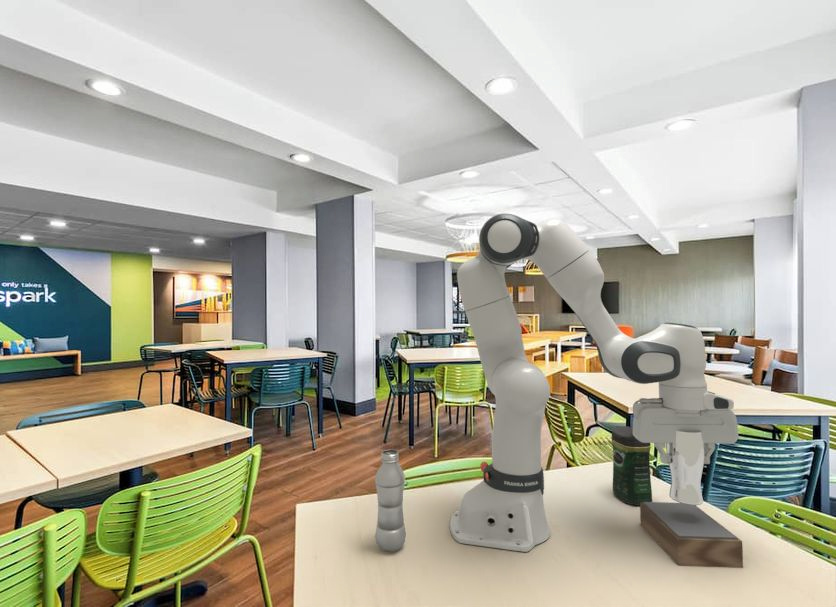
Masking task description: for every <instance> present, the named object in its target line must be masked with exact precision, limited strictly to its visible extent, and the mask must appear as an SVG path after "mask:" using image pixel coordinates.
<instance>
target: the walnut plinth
mask: <svg viewBox="0 0 836 607" xmlns="http://www.w3.org/2000/svg"><path fill="white" fill-rule="evenodd" d="M639 511H640V512H639V513H640V515H639V516H640V519H639V520H640V526H641V527H642V528H643V529H644V530H645V531H646V532H647V533H648V534H649V535H650V537H651V538H653V540H654V541H655V542H656V543H657V544H658V546H660V548H661V549H663V550H664V552H666V554H667V555H669V557H670V558H671V559H672V561H673V562H674V563H675V564H677V566H689V567H690V566H691V567H692V566H693V567H718V568H720V567H722V568H744V559H743V557H744V556H743V555H744V554H743V552H744V551H743V540H741V539H740V538H738V537H737V535H735V534H733V533H732V532H731V531H730V530H729V529H727V528H726V527H724V526H723V525H722V524H720V523H719V522H718V521H717V520H715V519H714V518H713V517H711V515H709V514H708V513H706V512H705V511H703V510H702V509H701V508H700V507H698V505H688V504H683V503H680V502H668V501H667V502H658V501H657V502H656V501H652V502H643V503H640V505H639Z"/></svg>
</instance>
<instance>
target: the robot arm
mask: <svg viewBox="0 0 836 607" xmlns="http://www.w3.org/2000/svg"><path fill="white" fill-rule="evenodd" d="M479 232H480V233H479V238H478V241H479V242H478V243H479V251H478V253H477V255H475V256H474V257H472V258H469V259H468V260H466V261H465V262H463V263H462V264H460V266H459V267H458V269H457V271H456V272H457V273H456V278H457V279H456V280H457V285H458V287H457V288H458V291H459V296H460V300H461V303H462V307H463V310H464V313H465V315H466V319H467V320H468V324H469V327H470V329H471V333H472V336H473V339H474V342H475V345H476V348H477V352H478V357H479V361H480V364H481V367H482V371H483V374H484V377H485V380H486V383H487V387H488V389H489V391H490V392H491V394H492V395H494V397H495V408H494V410H495V411H494V417H493V418H494V419H493V425H492V429H491V463H490V464H489V463H488V462H487V461H482V462H481V463H480V465H479V466H480V471H481V472H482V473H483V475H482V476H483V480H482V481H480V482H479V483H478V484H476V485H475V486H474V487H472V488H471V489H469V490H467V491H466V492H465V493H464V495H463V497H462V499H461V502H460V505H459V509H457V510H455V511H454V513H452V515H451V517H450V522H449V529H450V533H451V537H452V538H453V539H454V540H455V541H456V542H457V543H460V544H464V545H471V546H477V547H478V546H479V547H486V548H493V549H502V550H507V551H508V550H509V551H515V552H516V551H517V552H523V553H527V552H529V551H531V550H532V549H533V548H534V547H535V546H537V545H539V544H542V543H543V542H545V541H546V540H548V539H549V537H550V536H551V530H550V527H549V523H548V520H547V515H546V511H545V510H546V509H545V504H544V496H543V495H544V490H545V474H544V468H542V428H543V422H544V417H545V411H546V406H547V403H548V401H549V399H550V396H551V387H550V382H549V380H548V378H547V377H546V375H545V373H544V372H543V371H542V370H541V369H540V368H539V367H538V366H537V365H535V364H533V363H532V362H529V360H528V358H527V354H526V351H525V347H524V346H525V345H524V341H523V334H522V332H523V331H522V329H523V328H522V326H521V323H520V320H519V316H518V314H517V312H516V309H515V305H514V302H513V300H512V297H511V295H510V292H509V289H508V286H507V283H506V279H505V278H506V277H505V272H506V270H507V269H508V268H509V267H511V266H512V265H514V264H516V263H517V262H519V261H521V260H528V261H531V262H532V263H534V265H535V266H537V268H538V269H539V270H540V272H541V273H542V274H543V276H544V277H545V279H546V280H547V281H548V283H549V284H550V286H551V287H552V288H553V289H554V290H555V292H556V293H557V294H558V295H559V296H560V297H561V298H562V299H563V300H564V301H565V303H566V304H567V305H568V306H569V307H570V309H571V310H572V311H573V312H574V313H575V315H576V317H577V318H578V319H579V321H580V322H581V324H582V325H583V327H584V328H585V330H586V332H587V333H588V334H589V336H590V338H591V340H592V341H593V342H594V344H595V346H596V349H597V354H598V358H599V362H600V365H601V367H602V368H603V370H604V371H605V373H608V375H611V376H612V377H614V378H618V379H624V380H627V381H629V382H632V383H636V384H639V385H640V384H641V385H645V384H646V385H648V384H653V383H658V397H652V398H651V397H650V398H647V397H646V398H645V397H644V398H643V397H641V398H639V400H636V401H634V402H633V403H632V404H633V405H632V415H633V421H632V428H633V435H634V437H635V438H636V439H637V440H639V441H640V442H642V443H650V444H651V443H652V444H653V445H654V447H655V448H656V450H657V452H658V453H659V459H660V460H659V461H660V463H662V464H668V465H669V464H671V456H670V455H668V454H667V452H666V451H665V450H664V449H666V443H675V440H676V430H677V431H683V432H701V431H703V438H704V448H705V458H704V465H710V463H711V455H712V454H713V452H714V451H715V450H716V444H735V443H736V442H737V441H738V439H739V428H738V427H739V425H738V419H737V416H736V413H735V412H734V411H733V409H734V407H735V406H734V405H735V404H734V400H733V399H730V398H728V397H725V396H723V395H719V394H716V393H714V392H713V391H708V383H707V380H706V377H705V370H706V368H707V356H706V345H705V339H704V335H703V334H702V331H701V330H700V329H699V328H698V327H696V326H693V325H690V324H685V323H676V322H664V323H661V324H660V325H659V326H658V327H656V328H655V329H653V330H652V331H650V332H647V333H645V334H643V335H641V336H638V337H636V338H635V337H634V338H633V337H631V336H629V335H627V334H625V333H624V332H622V331H621V330H620V328H619V327H618V325H617V324H616V323H615V321H614V320H613V318H612V317H611V315H610V314H609V312H608V310H607V309H606V307H605V306H604V303H603V301H602V297H601V296H602V294H601V293H602V288H603V286H604V282H605V273H604V271H603V268H602V267H601V264H600V262H599V261H598V259H597V257H596V256H595V254H594V253H593V252H592V251H591V249H590V247H588V245H587V244H586V243H585V242H584V241H583V239H582V238H581V237H580V236H579V235H578V234H577V232H575V231H574V230H573V228H571V227H570V226H569V225H568V224H567V223H565V222H564V221H563V220H562V219H559V218H548V219H545V220H542V221H541V222H539V223H537V224H536V223H534V222H532V221H529V220H526V219H524V218H522V217H520V216H518V215H515V214H511V213H500V214H496V215H493V216H491V217H490V218H488V220H486V221H485V223H484V224H483V225H482V227H481V229H480V231H479Z"/></svg>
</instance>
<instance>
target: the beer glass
mask: <svg viewBox="0 0 836 607" xmlns="http://www.w3.org/2000/svg"><path fill="white" fill-rule="evenodd" d="M704 447H705V446H704V438H703V431H701V432H683V431H677V430H676V440H675V443H666V447H665V449H666V451H665V453H667V454H668V455H670V456H671V464H668V468H669V471H670V479H671V480H670V489H669V493H668V494H669V495H668V496H669V498H671V500H672V501H674V502H676V503H683V504H688V505H696V506H701V505H703V503H704V499H703V495H702V494H703V493H702V489H701V488H702V485H701V484H702V483H701V482H702V481H701V480H702V475H703V469H704V465H705V464H704V458H705V448H704Z"/></svg>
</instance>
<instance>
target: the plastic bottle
mask: <svg viewBox="0 0 836 607" xmlns="http://www.w3.org/2000/svg"><path fill="white" fill-rule="evenodd" d="M399 461H400V459H399V451H398V450H396V449H385V450H382V451H381V458H380V462H381V463H382V464H381V465H380V466H379V468H378V470H377V471H376V474H375V478H374V479H375V480H374V481H375V488H376V495H377V509H378V510H377V522H376V529H375V536H374V537H375V541H376V545H377V547H378V548H379V549H380V550H381V551H384V552H394V551H398V550H400V549H402V547H403V545H404V544H405V542H406V537H407V536H406V535H407V533H406V532H407V531H406V526H405V522H404V520H405V519H404V509H403V507H404V506H403V504H404V503H403V501H404V491H405V490H404V489H405V481H406V479H405V478H406V475H405V473H404V470H403V469H402V467H401V465H400V464H399Z"/></svg>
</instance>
